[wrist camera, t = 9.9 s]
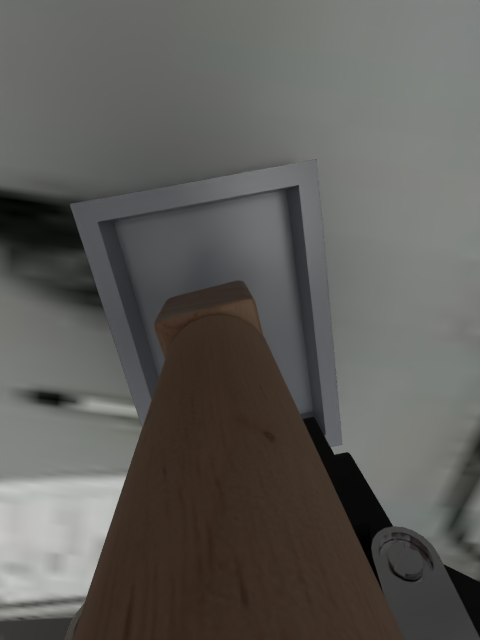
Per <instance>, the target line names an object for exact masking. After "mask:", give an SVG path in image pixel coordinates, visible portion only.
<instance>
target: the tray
mask: <svg viewBox="0 0 480 640" xmlns="http://www.w3.org/2000/svg"><path fill="white" fill-rule="evenodd" d="M70 206H71V209H72V212H73V215H74V219H75V222H76V225H77V228H78V231H79V234H80V237H81V240H82V243H83V246H84V249H85V253H86V256H87V259H88V262H89V265H90V268H91V271H92V274H93V277H94V280H95V283H96V287H97V290H98V293H99V296H100V299H101V302H102V305H103V308H104V311H105V314H106V317H107V320H108V324H109V327H110V330H111V333H112V336H113V339H114V342H115V345H116V348H117V351H118V354H119V358H120V361H121V364H122V367H123V370H124V373H125V376H126V379H127V382H128V385H129V388H130V392H131V395H132V398H133V401H134V404H135V407H136V410H137V413H138V416H139V419H140V422H141V426H142V428H143V425H144V422H145V419H146V416H147V413H148V410H149V407H150V404H151V401H152V398H153V395H154V391H155V388H156V385H157V382H158V379H159V376H160V373H161V370H162V367H163V364H164V361H165V358H164V355H163V352H162V349H161V346H160V343H159V341H158V338H157V335H156V332H155V329H154V323H155V320H156V318H157V316H158V315H159V313H160V311H161V309H162V307H163V306H164V304H165V302H166V301H167V300H168V299H169V298H170V297H174V296H178V295H182V294H186V293H190V292H194V291H198V290H202V289H206V288H209V287H213V286H217V285H221V284H225V283H229V282H233V281H237V280H239V281H243V282H244V283H245V284H246V286H247V288H248V289H249V291H250V293H251V295H252V297H253V298H254V300H255V302H256V306H257V311H258V315H259V319H260V324H261V328H262V332H263V336H264V338H265V339H266V342H267V344H268V346H269V348H270V350H271V352H272V355H273V357H274V359H275V361H276V363H277V365H278V368H279V370H280V372H281V374H282V376H283V378H284V380H285V383H286V385H287V387H288V389H289V391H290V393H291V396H292V398H293V400H294V402H295V404H296V406H297V409H298V411H299V413H300V415H301V417H302V419H304V418H309V417H315V419H316V421H317V423H318V425H319V427H320V428H321V430H322V432H323V434H324V436H325V438H326V440H327V442H328V444H329V446H330V447H334V446H338V445H342V435H341V424H340V413H339V402H338V391H337V380H336V369H335V357H334V346H333V335H332V324H331V313H330V302H329V291H328V280H327V269H326V258H325V247H324V236H323V225H322V214H321V203H320V192H319V181H318V169H317V159H315V160H309V161H304V162H298V163H293V164H287V165H282V166H276V167H271V168H265V169H260V170H254V171H249V172H243V173H238V174H232V175H227V176H221V177H216V178H210V179H205V180H199V181H194V182H188V183H183V184H177V185H172V186H166V187H161V188H155V189H150V190H144V191H139V192H133V193H128V194H122V195H117V196H111V197H106V198H100V199H95V200H89V201H84V202H78V203H73V204H70Z"/></svg>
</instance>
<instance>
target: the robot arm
mask: <svg viewBox="0 0 480 640" xmlns="http://www.w3.org/2000/svg"><path fill="white" fill-rule="evenodd" d="M303 421H304V424H305V426H306V428H307V430H308V432H309V434H310V437H311V439H312V441H313V443H314V445H315V447H316V450H317V452H318V454H319V456H320V458H321V460H322V462H323V465H324V467H325V469H326V471H327V473H328V475H329V478H330V480H331V482H332V484H333V486H334V488H335V491H336V493H337V495H338V497H339V499H340V501H341V503H342V506H343V508H344V510H345V512H346V514H347V516H348V519H349V521H350V523H351V525H352V527H353V529H354V532H355V534H356V536H357V538H358V540H359V542H360V544H361V547H362V549H363V551H364V553H365V555H366V557H367V560H368V562H369V564H370V566H371V568H372V570H373V573H374V575H375V577H376V579H377V581H378V583H379V585H380V588H381V590H382V592H383V594H384V596H385V598H386V601H387V603H388V605H389V607H390V609H391V611H392V614H393V616H394V618H395V620H396V622H397V624H398V626H399V629H400V631H401V633H402V635H403V637H404V639H405V640H480V582H478V581H476V580H474V579H472V578H470V577H468V576H466V575H464V574H462V573H460V572H458V571H456V570H454V569H452V568H450V567H448V566H446V565H444V564H443V563H442V561H441V559H440V557H439V555H438V553H437V551H436V550H435V548H434V547H433V545H432V544H431V543H430V542H429V541H428V540H426V539H425V538H424V537H423V536H422V535H420V534H418V533H417V532H415V531H413V530H410V529H407V528H404V527H396V526H393V525H392V524H391V522H390V520H389V518H388V517H387V515H386V513H385V512H384V510H383V508H382V507H381V505H380V503H379V502H378V500H377V498H376V497H375V495H374V493H373V492H372V490H371V488H370V487H369V485H368V483H367V481H366V480H365V478H364V476H363V475H362V473H361V471H360V470H359V468H358V466H357V465H356V463H355V461H354V460H353V458H352V456H351V455H350V454H349V453H348V452H346V453H341V454H336V455H334V453H333V451H332V449H331V448H330V446H329V444H328V442H327V440H326V438H325V436H324V434H323V432H322V430H321V428H320V427H319V425H318V423H317V421H316V419H315V417H309V418H304V419H303ZM83 607H84V604H83V606H82V607H81V608H80V609H79V610H78V612H77V613H76V615H75V616H74V618H73V620H72V622H71V623H70V626H69V629H68V632H67V635H66V638H65V640H73V637H74V634H75V631H76V628H77V625H78V622H79V619H80V616H81V613H82V610H83Z"/></svg>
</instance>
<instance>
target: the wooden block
mask: <svg viewBox="0 0 480 640" xmlns="http://www.w3.org/2000/svg"><path fill="white" fill-rule="evenodd" d="M154 329H155V332H156V335H157V338H158V341H159V343H160V346H161V349H162V352H163V355H164V358H165V361H164V364H163V367H162V370H161V373H160V376H159V379H158V382H157V385H156V388H155V391H154V395H153V398H152V401H151V404H150V407H149V410H148V413H147V416H146V419H145V422H144V425H143V428H142V431H141V434H140V437H139V440H138V443H137V446H136V449H135V452H134V455H133V458H132V461H131V464H130V467H129V470H128V473H127V476H126V479H125V482H124V485H123V488H122V491H121V494H120V497H119V501H118V504H117V507H116V510H115V513H114V516H113V519H112V522H111V525H110V528H109V531H108V534H107V537H106V540H105V543H104V546H103V549H102V552H101V555H100V558H99V561H98V564H97V567H96V570H95V573H94V576H93V579H92V582H91V585H90V588H89V591H88V594H87V597H86V600H85V603H84V607H83V610H82V613H81V616H80V619H79V622H78V625H77V628H76V631H75V634H74V637H73V640H405V639H404V637H403V635H402V633H401V631H400V629H399V626H398V624H397V622H396V620H395V618H394V616H393V614H392V611H391V609H390V607H389V605H388V603H387V601H386V598H385V596H384V594H383V592H382V590H381V588H380V585H379V583H378V581H377V579H376V577H375V575H374V573H373V570H372V568H371V566H370V564H369V562H368V560H367V557H366V555H365V553H364V551H363V549H362V547H361V544H360V542H359V540H358V538H357V536H356V534H355V532H354V529H353V527H352V525H351V523H350V521H349V519H348V516H347V514H346V512H345V510H344V508H343V506H342V503H341V501H340V499H339V497H338V495H337V493H336V491H335V488H334V486H333V484H332V482H331V480H330V478H329V475H328V473H327V471H326V469H325V467H324V465H323V462H322V460H321V458H320V456H319V454H318V452H317V450H316V447H315V445H314V443H313V441H312V439H311V437H310V434H309V432H308V430H307V428H306V426H305V424H304V421H303V419H302V417H301V415H300V413H299V411H298V409H297V406H296V404H295V402H294V400H293V398H292V396H291V393H290V391H289V389H288V387H287V385H286V383H285V380H284V378H283V376H282V374H281V372H280V370H279V368H278V365H277V363H276V361H275V359H274V357H273V355H272V352H271V350H270V348H269V346H268V344H267V342H266V339H265V338H264V336H263V332H262V328H261V324H260V319H259V315H258V311H257V306H256V302H255V300H254V298H253V297H252V295H251V293H250V291H249V289H248V288H247V286H246V284H245V283H244V282H243V281H239V280H237V281H233V282H229V283H225V284H221V285H217V286H213V287H209V288H206V289H202V290H198V291H194V292H190V293H186V294H182V295H178V296H174V297H170V298H169V299H168V300H167V301H166V302H165V304H164V306H163V307H162V309H161V311H160V313H159V315H158V316H157V318H156V320H155V323H154Z"/></svg>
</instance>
